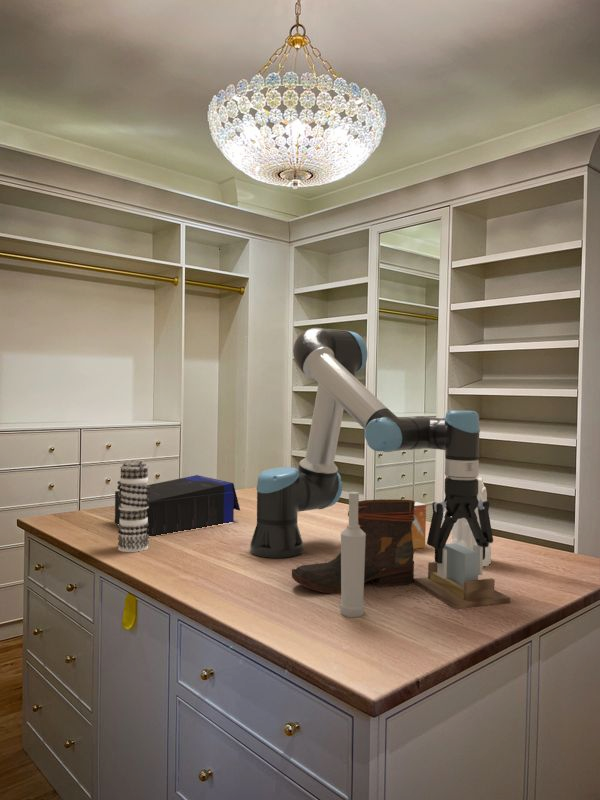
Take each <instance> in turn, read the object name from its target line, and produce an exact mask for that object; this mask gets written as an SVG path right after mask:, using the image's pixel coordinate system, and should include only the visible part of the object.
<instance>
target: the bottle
mask: <svg viewBox="0 0 600 800" xmlns="http://www.w3.org/2000/svg"><path fill="white" fill-rule="evenodd" d="M359 493H360V492H357V491H349V492H348V511H349V517H348V524H347V525H346V527H345V528H344V529H343V530H342V531H341V532H340V553H341V593H340V595H341V597H340V598H341V599H340V602H339V612H340V614H341V615H342V616H345V617H348V618H359V617H362V616H364V614H365V607H366V606H365V602H364V593H365V583H364V568H365V538H366V534H365V533H364V532H363V531H362V530H361V529H360V526H359V525H358V503H359V502H360V501H359V500H360V499H359V495H360V494H359Z"/></svg>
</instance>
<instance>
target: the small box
mask: <svg viewBox="0 0 600 800" xmlns="http://www.w3.org/2000/svg"><path fill="white" fill-rule="evenodd" d="M414 511H415V512H413V513H414V514H415V515H414V517H415V520H414V521H412V527H411V529H412V541H413V549H414V550H419V549H425V548H426V525H427V504H426V503H422V502H419V501H418V502H417V501H415V505H414ZM424 547H425V548H424ZM418 548H419V549H418Z"/></svg>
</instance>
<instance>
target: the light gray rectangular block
mask: <svg viewBox="0 0 600 800" xmlns="http://www.w3.org/2000/svg"><path fill="white" fill-rule="evenodd" d="M444 549H446V550H447V578H448V579H450V580H452V581H454V582H455V583H457V584H459V585H461V586H463V587H464V581H471V580H479V575H478V553H477V552H474V551H472V550H470V549H468V548H465V547H463V546H461V545H459V544H456V543H455V544H450V543H446V544H445V546H444Z"/></svg>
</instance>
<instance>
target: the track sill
mask: <svg viewBox="0 0 600 800" xmlns="http://www.w3.org/2000/svg"><path fill="white" fill-rule="evenodd" d="M427 563H428V565H427V566H428V567H427V571H428V572H427V573H428V575H427V576H425V577H416V578H415V577H414V579H413V584H415V585H416V586H418V587H420V588H421V589H423V590H424V589H425V590H424V591H426V592H427V591H428V593H429V592H430V593H429V594H431V595H432V594H433V595H432V596H434V597H435V596H436V598H437V597H438V598H439V599H438V598H437V599H438V600H440V599H441V600H440V601H442V602H443V601H444V602H443V603H445V604H446V603H447V605H448V606H450V607H451V608H452V609H455V610H457V609H465V608H467V609H468V608H474V606H476V607H482V606H483V605H484V606H491V605H490V604H493V605H501V604H510V603H511V597H509V596H508V595H506V594H504V593H502V592H499V590H495V583H496V582H495V579H494V578H484V579H478V580H471V581H464V587H463V586H461V585H459V584H457V583H455V582H454V581H452V580H450V579H448V578H447V579H443V578H441V577H439V576H438V575H437V562H435V561H428V562H427ZM484 606H483V607H484Z"/></svg>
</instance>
